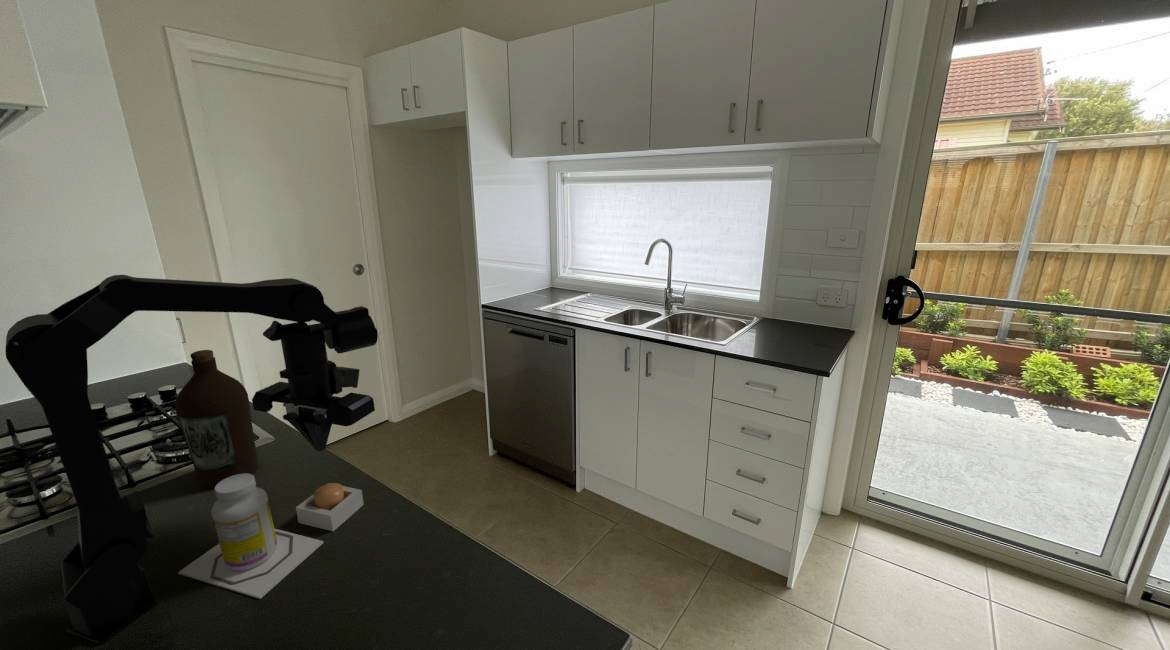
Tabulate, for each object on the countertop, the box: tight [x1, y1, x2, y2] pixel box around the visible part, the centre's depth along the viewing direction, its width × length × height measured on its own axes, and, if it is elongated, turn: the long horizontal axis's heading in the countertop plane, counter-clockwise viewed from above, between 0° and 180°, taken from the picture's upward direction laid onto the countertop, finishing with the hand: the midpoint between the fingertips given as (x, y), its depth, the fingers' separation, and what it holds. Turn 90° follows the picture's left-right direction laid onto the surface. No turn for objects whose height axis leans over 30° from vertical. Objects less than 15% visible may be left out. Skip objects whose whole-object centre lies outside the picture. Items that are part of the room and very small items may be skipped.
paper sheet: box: [177, 528, 324, 600], centre depth 71 cm, size 11×15×1 cm
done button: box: [312, 482, 345, 511], centre depth 80 cm, size 4×4×2 cm
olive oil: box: [174, 349, 259, 489], centre depth 88 cm, size 11×11×25 cm
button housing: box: [295, 482, 364, 532], centre depth 81 cm, size 7×7×3 cm
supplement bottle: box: [211, 473, 277, 570], centre depth 69 cm, size 7×7×13 cm
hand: (321, 449), depth 77 cm, fingers closed
